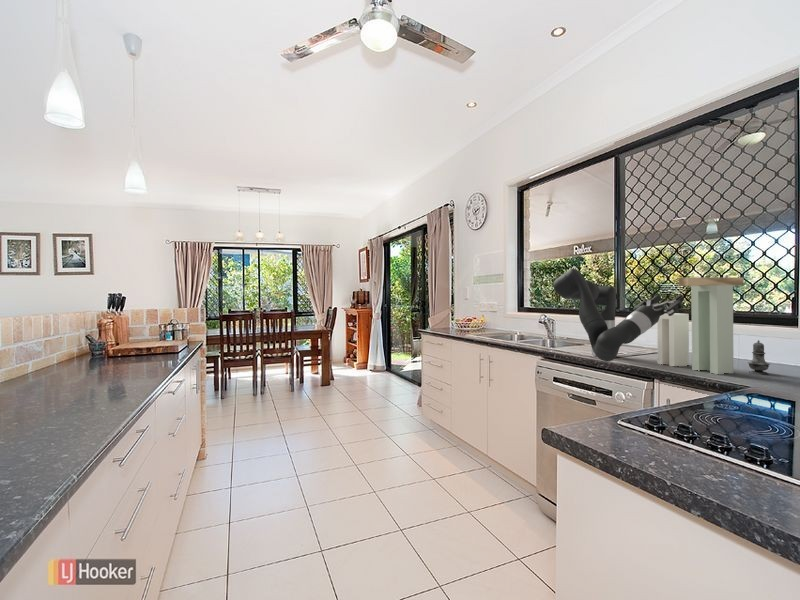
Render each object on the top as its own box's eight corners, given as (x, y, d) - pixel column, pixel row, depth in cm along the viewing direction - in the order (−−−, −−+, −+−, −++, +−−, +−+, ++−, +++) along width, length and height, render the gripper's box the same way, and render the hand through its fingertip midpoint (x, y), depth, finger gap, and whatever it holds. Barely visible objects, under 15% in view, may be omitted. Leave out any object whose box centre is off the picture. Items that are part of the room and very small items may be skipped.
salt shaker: (765, 375, 133) (765, 341, 133) (744, 372, 138) (744, 339, 138) (773, 373, 136) (772, 340, 136) (751, 371, 141) (751, 338, 141)
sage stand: (692, 370, 144) (691, 286, 144) (707, 368, 146) (706, 286, 146) (717, 374, 136) (716, 285, 135) (733, 373, 138) (732, 285, 138)
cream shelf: (657, 364, 158) (657, 313, 157) (672, 362, 160) (671, 313, 160) (674, 366, 151) (673, 314, 151) (689, 365, 153) (688, 313, 153)
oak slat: (678, 286, 139) (678, 277, 139) (733, 285, 146) (733, 277, 146) (688, 285, 135) (688, 277, 135) (743, 285, 143) (743, 277, 143)
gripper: (654, 312, 124) (686, 287, 128) (618, 311, 138) (648, 288, 142) (663, 331, 125) (694, 306, 129) (626, 328, 139) (656, 305, 143)
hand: (670, 297), depth 135 cm, fingers open, 8 cm apart
